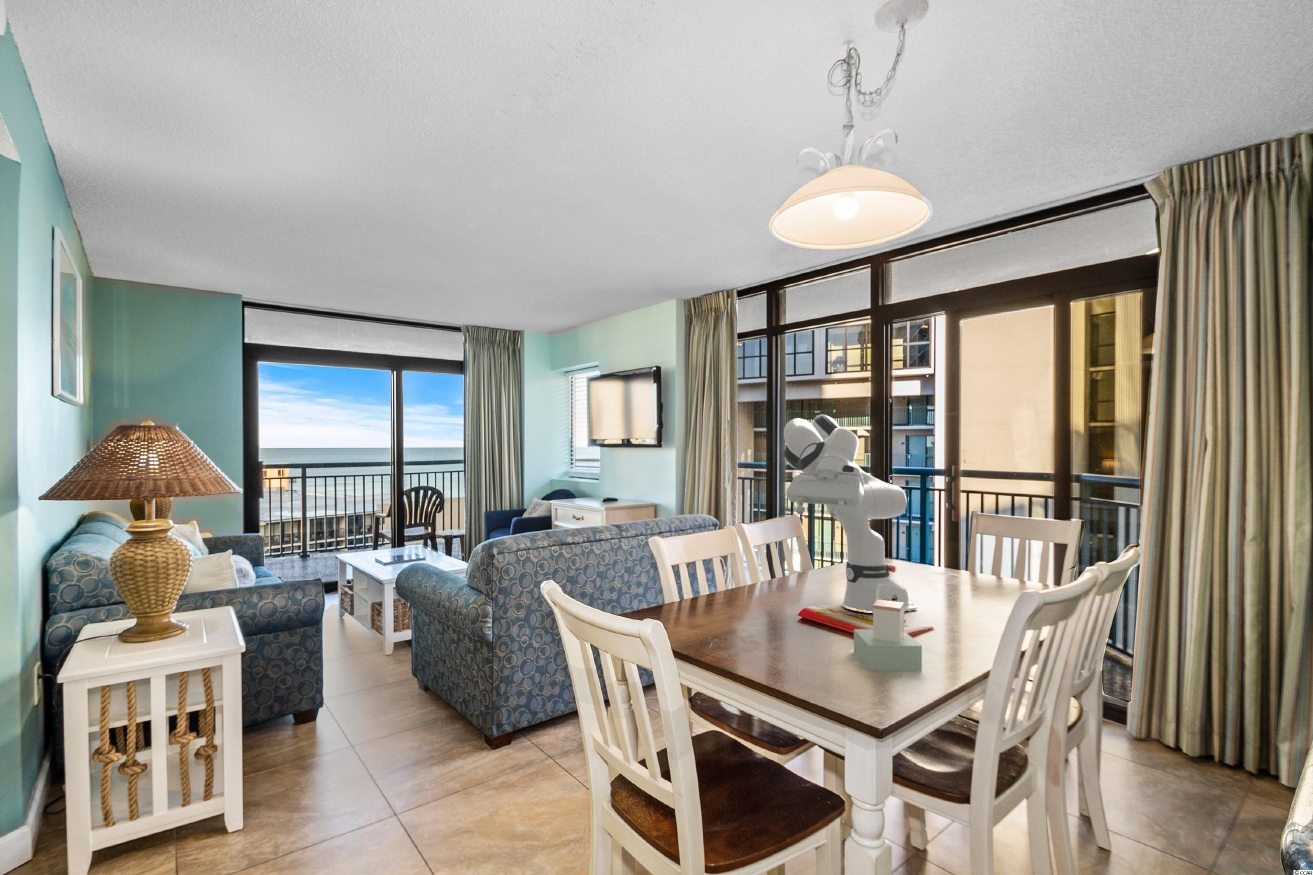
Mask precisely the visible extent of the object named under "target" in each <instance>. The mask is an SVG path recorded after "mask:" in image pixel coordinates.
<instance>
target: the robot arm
mask: <svg viewBox="0 0 1313 875" xmlns="http://www.w3.org/2000/svg"><path fill="white" fill-rule="evenodd" d="M783 439H784V442H785V448H784V450H783V457H784V458H785V461H786V462H787V464H788V465H789V466H790V467H791V468H793V469H795V470H798V471H801V472H802V473H800V474H797V475H794V476H793V479H792V481H791V482H790V484H789V485H788V487H787V489H786V496H787V498H788V500H789V501H790V503H791V502H792V503H796V508H795V511H796V513H797V515H804V512H805V510H806V509H805V508H804V504H816V505H825V506H826V509H827V512H828V513H829V514H830V517H831V518H834V519H836V520H837V521H838V523H839V524H840V525H841V527H842V530H843V532H844V533H845V536H846V546H847V561H846V564H845V575H846V576H845V577H846V586H845V592H844V593H845V594H844V598H843V601H842V604H843V605H845V606H848V607H852V608H856V609H861V610H866V611H872V612H873V605H874V604H875V602H876V601H877V600H878V599H879V600H887V601H895V602H903V603H904V611H909V612H911V611H910V610H914V609H917V608H918V607H917V606H916V605H915V604H914V603H912V602H911V601H909V594H908V592H907V589H906V587H904V585H901V583H900V582H898V581H897V580H896V579H895V578H893V577H892V576H891V574H890V572H891V573H896V571H897V567H896V566H895V565H892V564H889V565H888V564H887V563H885V560H886V559H885V558H886V557H885V556H886V555H885V554H886V551H885V549H886V545H885V544H886V543H885V540H884V538H883V536H882V535H881V534H879V532H876V531H874V530H873V529H871V526H870V524H869V520H886V519H892V518H896V517H899V516H902V515H903V514H904V512H905V510H906V508H907V505H908V500H907V498H908V497H907V495H906V493H905V491H904V490H903V488H901V487H900V486H898V485H894V484H890V483H888V482H884V481H882V480H881V479H878V478H876V477H874V476H873V475H871V474H869V473H867V472H865V471H864V470H863V469H862V468H861V467H860V466H859V465H858V464H856V462H855V459H856V457H857V454H858V451H859V449H858V448H859V444H860V442H859V437H858V436H857V435H856V434H855V432H853V431H852V430H850V429H849V428H845V427H840V425H839V424H838V421H836V420H835V419H834V418H833V417H831V416H828V415H826V414H824V413H823V414H819V415H817V416H816V417H814V418H813V420H812V421H811V422H810V421H808V420H806V419H804V418H800V417H799V418H797V417H796V418H793V419H791V420H789V421H788V422H787V423H786V424H785V426H784V429H783ZM917 610H918V609H917Z"/></svg>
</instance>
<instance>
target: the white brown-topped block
mask: <svg viewBox="0 0 1313 875" xmlns="http://www.w3.org/2000/svg"><path fill="white" fill-rule="evenodd" d="M872 629H873V639H878V640H884V641H891V642H897V643H900V642H901V640H902V638H903V637H904V631H905V612H904V603H903V602H895V601H887V600H879V599H878V600H877V601H876V602H875V604H874V605H873V614H872Z"/></svg>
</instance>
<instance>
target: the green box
mask: <svg viewBox="0 0 1313 875" xmlns="http://www.w3.org/2000/svg"><path fill="white" fill-rule="evenodd" d="M922 648H923V646H922V645H921V644H920V643H919V642H918V641H917V640H915V639H914V638H913V637H912V636H911V635H910V634H908V633H907V632H906V631H905V630H904V637H903V638H902V640H901V642H900V643H897V642H891V641H884V640H878V639H873V628H872V629H867V628H866V629H865V628H863V629H862V628H859V629H858V628H856V629H855V628H854V629H853V653H854V654H855V655H856V657H857V658H858V659H859V661H861V663H862V664H863V665H864V666H865V668H866V669H867V670H868V671H874V672H923V671H922V670H923V669H922V668H923V667H922V666H923V665H922V664H923V663H922V662H923V660H922V657H923V655H922V654H923V652H922V651H923V649H922Z"/></svg>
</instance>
